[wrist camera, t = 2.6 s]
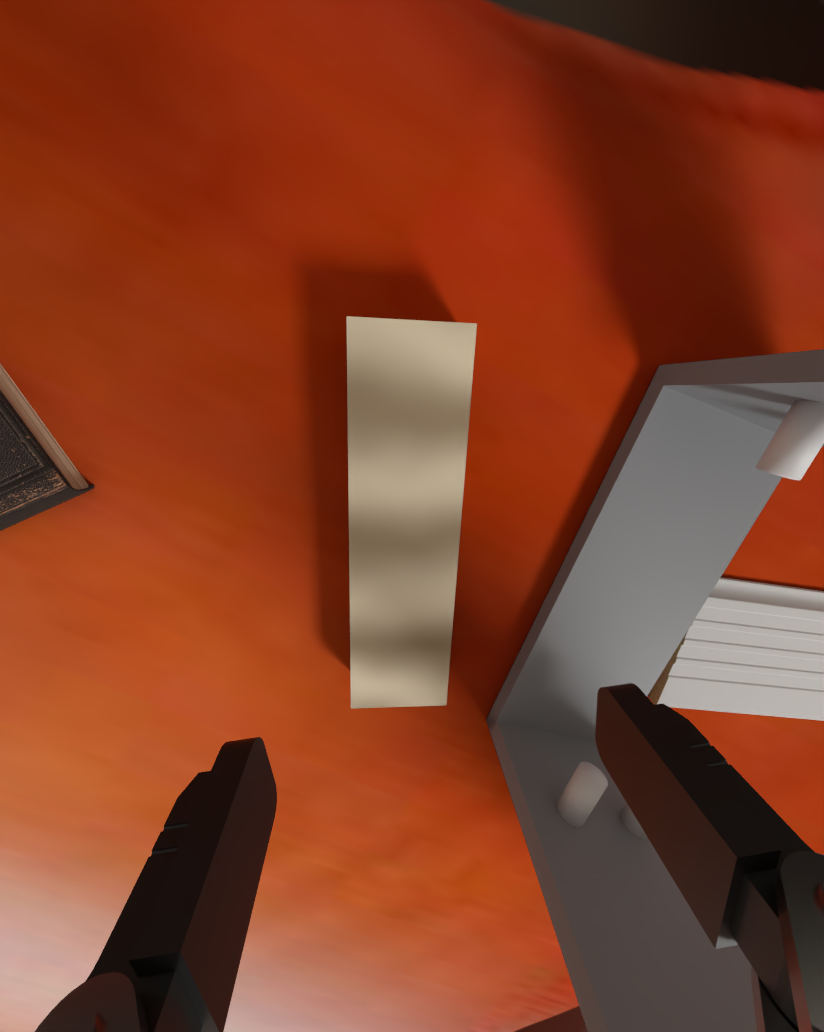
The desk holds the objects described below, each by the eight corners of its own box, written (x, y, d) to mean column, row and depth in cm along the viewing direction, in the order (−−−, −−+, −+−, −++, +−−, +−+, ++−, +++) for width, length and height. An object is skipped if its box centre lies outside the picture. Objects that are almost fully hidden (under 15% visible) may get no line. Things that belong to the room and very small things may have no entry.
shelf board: (438, 668, 28) (446, 705, 25) (354, 670, 28) (350, 708, 24) (461, 334, 21) (476, 323, 18) (351, 328, 21) (346, 316, 18)
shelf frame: (600, 745, 31) (813, 1084, 16) (485, 719, 29) (601, 1073, 14) (794, 422, 24) (1499, 475, 9) (659, 364, 22) (1249, 308, 7)
